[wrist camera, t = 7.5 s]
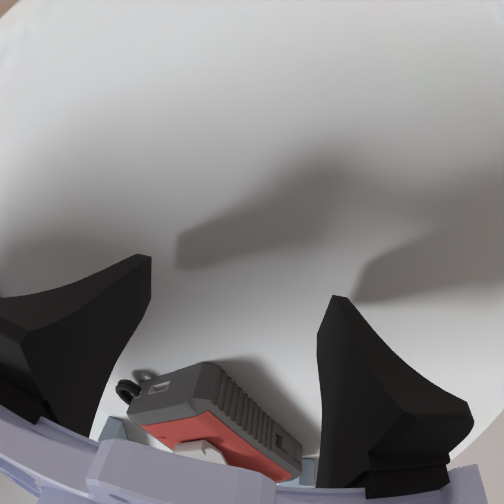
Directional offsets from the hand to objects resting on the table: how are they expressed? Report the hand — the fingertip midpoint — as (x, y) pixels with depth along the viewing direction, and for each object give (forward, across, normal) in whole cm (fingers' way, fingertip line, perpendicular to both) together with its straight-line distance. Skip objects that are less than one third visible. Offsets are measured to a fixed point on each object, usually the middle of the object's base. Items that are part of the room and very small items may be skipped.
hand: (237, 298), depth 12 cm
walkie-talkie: (+2, -2, +15) cm, 15 cm away
